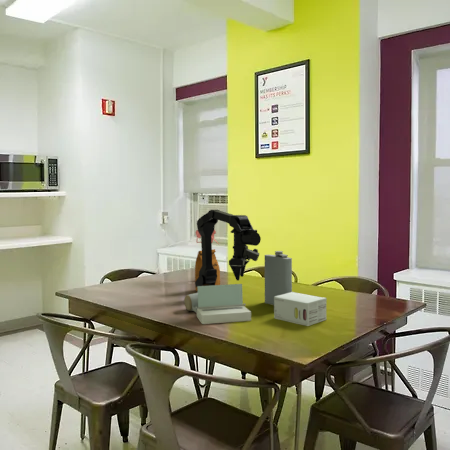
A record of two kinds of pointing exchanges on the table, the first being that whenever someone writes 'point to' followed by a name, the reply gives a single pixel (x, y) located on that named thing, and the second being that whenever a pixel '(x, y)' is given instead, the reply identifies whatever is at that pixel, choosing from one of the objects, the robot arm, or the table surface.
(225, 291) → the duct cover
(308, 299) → the supplement box
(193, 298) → the ceramic mug
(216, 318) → the panel
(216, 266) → the coffee package
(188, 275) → the table surface
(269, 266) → the flask
